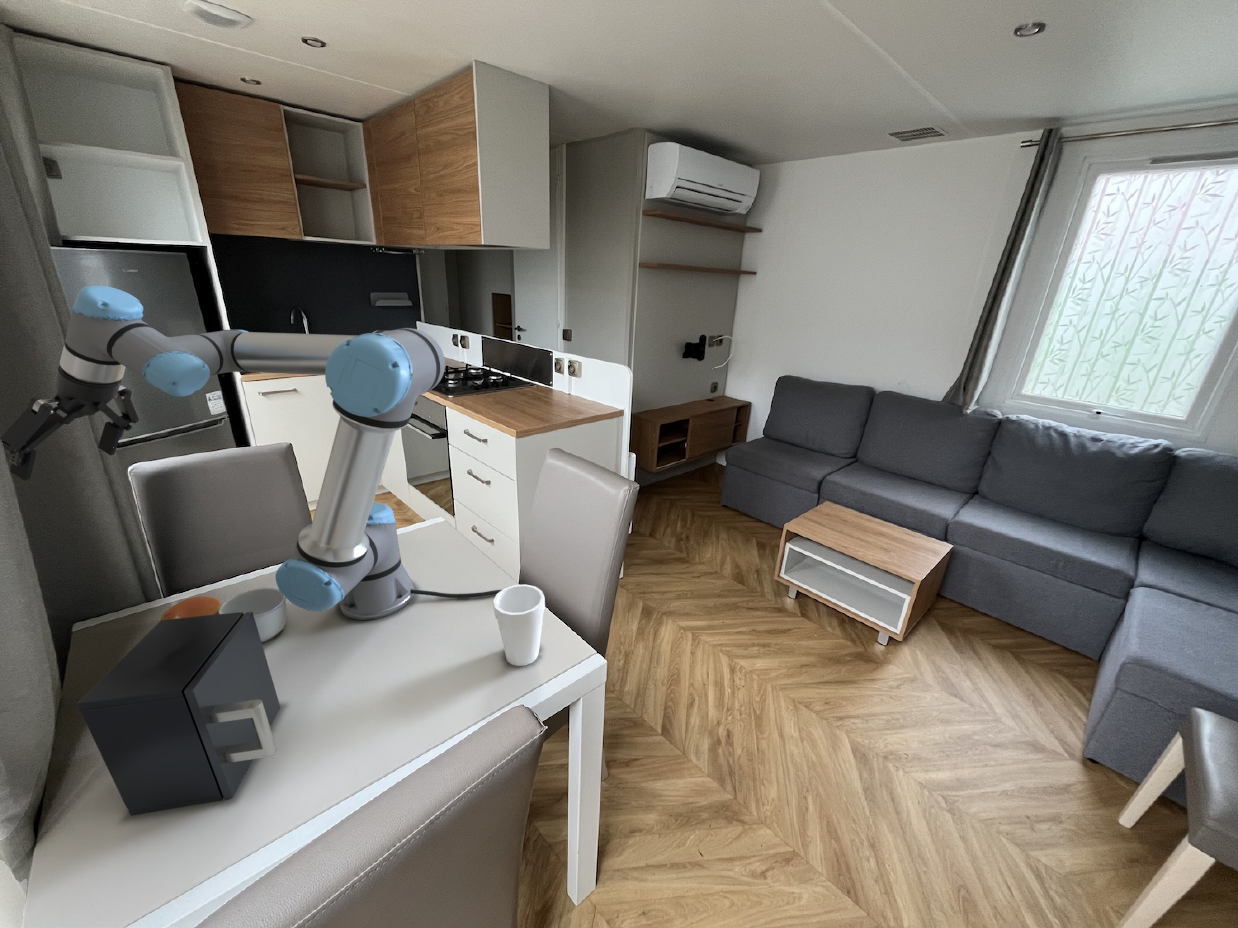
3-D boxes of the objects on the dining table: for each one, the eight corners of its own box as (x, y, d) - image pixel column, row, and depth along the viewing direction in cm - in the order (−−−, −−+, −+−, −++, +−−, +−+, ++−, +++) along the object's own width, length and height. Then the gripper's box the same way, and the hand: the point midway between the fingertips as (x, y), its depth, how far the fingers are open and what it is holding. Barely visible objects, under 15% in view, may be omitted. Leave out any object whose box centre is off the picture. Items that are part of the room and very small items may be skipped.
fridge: (272, 709, 84) (243, 611, 77) (222, 800, 69) (180, 690, 62) (198, 719, 81) (161, 619, 74) (130, 816, 67) (76, 703, 60)
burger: (230, 604, 109) (224, 587, 108) (218, 630, 102) (212, 612, 100) (173, 616, 105) (167, 598, 104) (157, 644, 98) (150, 625, 96)
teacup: (250, 618, 105) (240, 586, 103) (303, 616, 106) (295, 584, 104) (204, 665, 92) (192, 631, 90) (265, 663, 93) (255, 628, 91)
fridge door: (318, 702, 85) (293, 607, 78) (278, 790, 70) (244, 683, 63) (274, 708, 84) (245, 612, 77) (224, 799, 69) (183, 691, 62)
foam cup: (556, 654, 97) (554, 599, 93) (517, 679, 91) (513, 621, 86) (526, 631, 103) (523, 578, 99) (488, 654, 97) (483, 598, 92)
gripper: (146, 349, 95) (119, 431, 103) (-28, 369, 72) (-46, 474, 79) (180, 373, 96) (151, 453, 104) (20, 400, 73) (-3, 501, 80)
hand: (66, 462), depth 92 cm, fingers open, 13 cm apart
